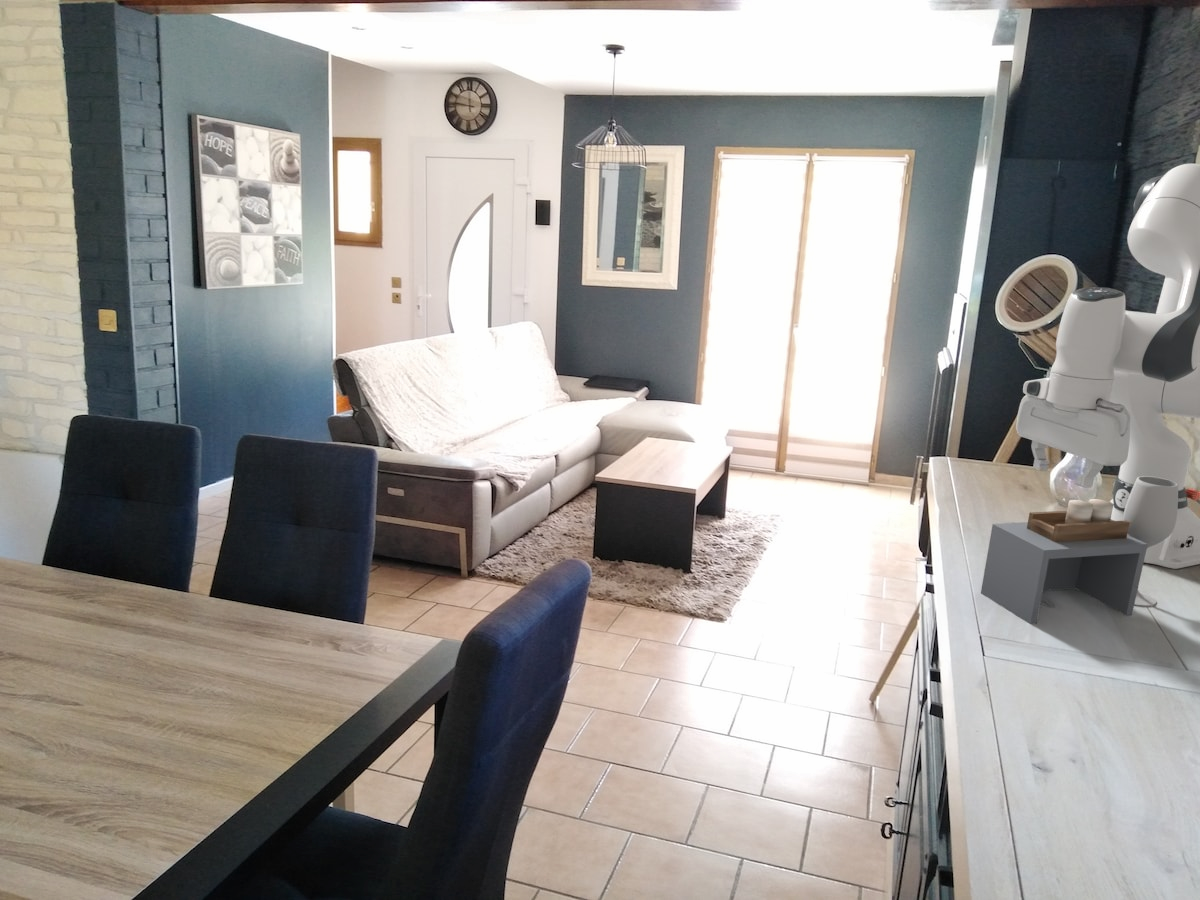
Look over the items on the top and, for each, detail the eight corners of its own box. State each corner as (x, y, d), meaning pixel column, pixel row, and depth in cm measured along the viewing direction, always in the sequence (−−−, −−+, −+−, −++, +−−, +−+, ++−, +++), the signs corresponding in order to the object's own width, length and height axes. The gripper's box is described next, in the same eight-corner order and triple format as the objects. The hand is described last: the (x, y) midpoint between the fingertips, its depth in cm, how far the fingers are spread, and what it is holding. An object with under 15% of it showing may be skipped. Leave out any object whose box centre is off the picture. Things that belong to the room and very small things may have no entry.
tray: (1126, 538, 147) (1132, 508, 146) (1055, 542, 143) (1061, 511, 142) (1095, 524, 153) (1101, 495, 152) (1026, 528, 149) (1032, 498, 148)
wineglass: (1164, 609, 151) (1192, 490, 145) (1115, 603, 152) (1140, 485, 147) (1147, 591, 158) (1173, 477, 153) (1100, 586, 159) (1124, 472, 154)
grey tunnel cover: (1076, 585, 159) (1090, 519, 156) (1131, 615, 148) (1147, 543, 145) (980, 592, 154) (992, 524, 151) (1030, 623, 143) (1044, 550, 139)
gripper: (1149, 407, 132) (1129, 497, 135) (1048, 381, 151) (1033, 460, 154) (1114, 407, 130) (1095, 498, 134) (1016, 380, 149) (1002, 461, 153)
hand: (1061, 477), depth 144 cm, fingers open, 8 cm apart
